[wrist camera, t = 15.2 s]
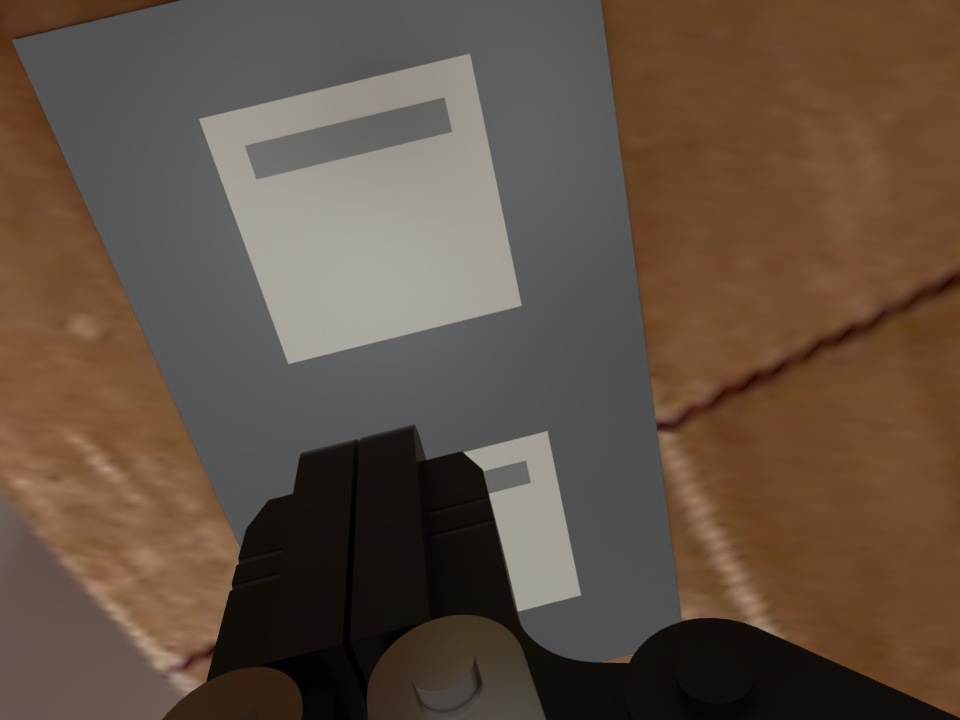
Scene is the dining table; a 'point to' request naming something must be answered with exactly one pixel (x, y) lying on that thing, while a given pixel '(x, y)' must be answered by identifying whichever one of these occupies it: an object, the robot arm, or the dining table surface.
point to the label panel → (389, 262)
